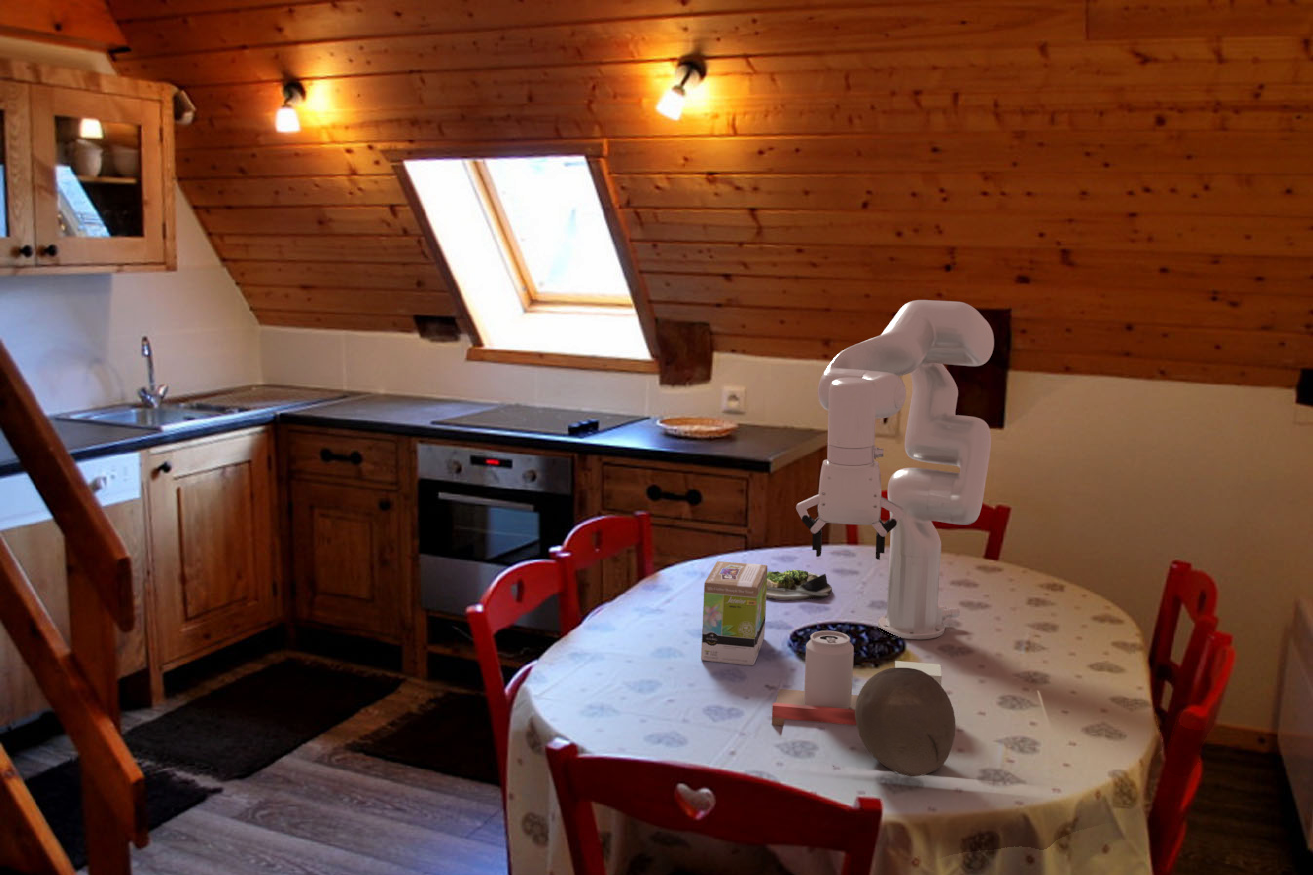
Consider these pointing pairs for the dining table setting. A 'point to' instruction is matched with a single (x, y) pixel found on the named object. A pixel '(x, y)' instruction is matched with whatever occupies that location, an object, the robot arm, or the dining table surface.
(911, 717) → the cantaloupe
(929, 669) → the cream rectangular block
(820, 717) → the shelf board
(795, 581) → the salad plate
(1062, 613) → the dining table surface
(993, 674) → the dining table surface
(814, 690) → the can
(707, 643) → the tea box
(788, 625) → the dining table surface
